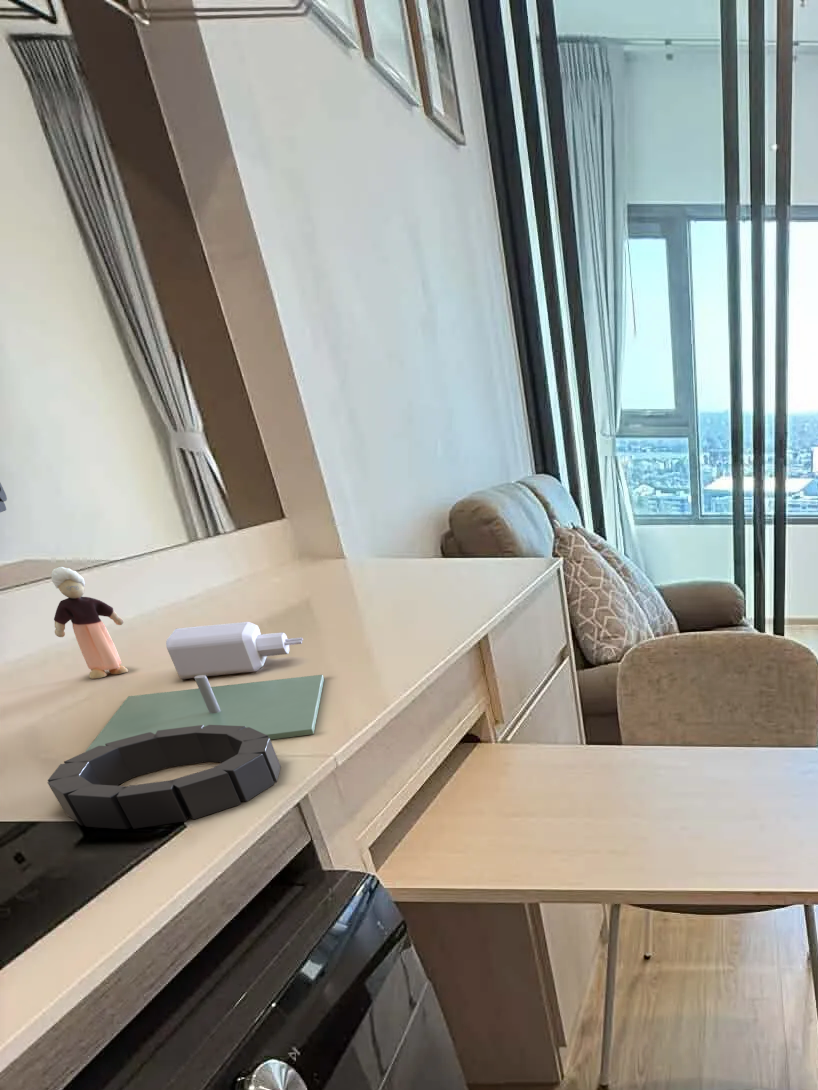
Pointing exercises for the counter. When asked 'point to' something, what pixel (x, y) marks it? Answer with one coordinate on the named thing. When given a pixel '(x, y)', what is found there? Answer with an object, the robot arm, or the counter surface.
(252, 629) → the charger
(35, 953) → the counter surface
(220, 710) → the peg board
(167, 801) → the segmented bracelet
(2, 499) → the robot arm
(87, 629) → the grandmother figurine
